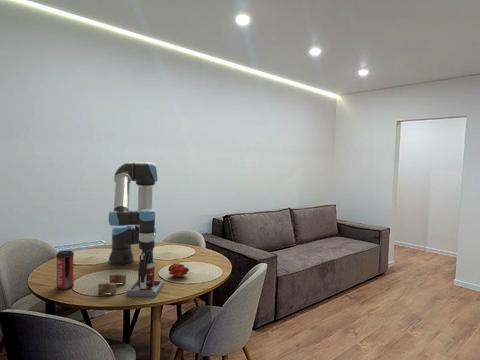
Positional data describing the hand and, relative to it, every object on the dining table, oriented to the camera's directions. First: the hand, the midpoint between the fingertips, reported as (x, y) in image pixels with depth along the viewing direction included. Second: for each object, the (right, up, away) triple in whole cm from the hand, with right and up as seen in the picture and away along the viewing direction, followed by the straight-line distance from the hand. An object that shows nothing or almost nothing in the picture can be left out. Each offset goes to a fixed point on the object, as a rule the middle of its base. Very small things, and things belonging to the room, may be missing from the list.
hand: (146, 284), depth 156 cm
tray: (0, -3, 0) cm, 3 cm away
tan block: (-17, -2, +1) cm, 17 cm away
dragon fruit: (+12, -2, +20) cm, 23 cm away
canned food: (0, -1, 0) cm, 1 cm away
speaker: (-41, -2, 0) cm, 41 cm away
